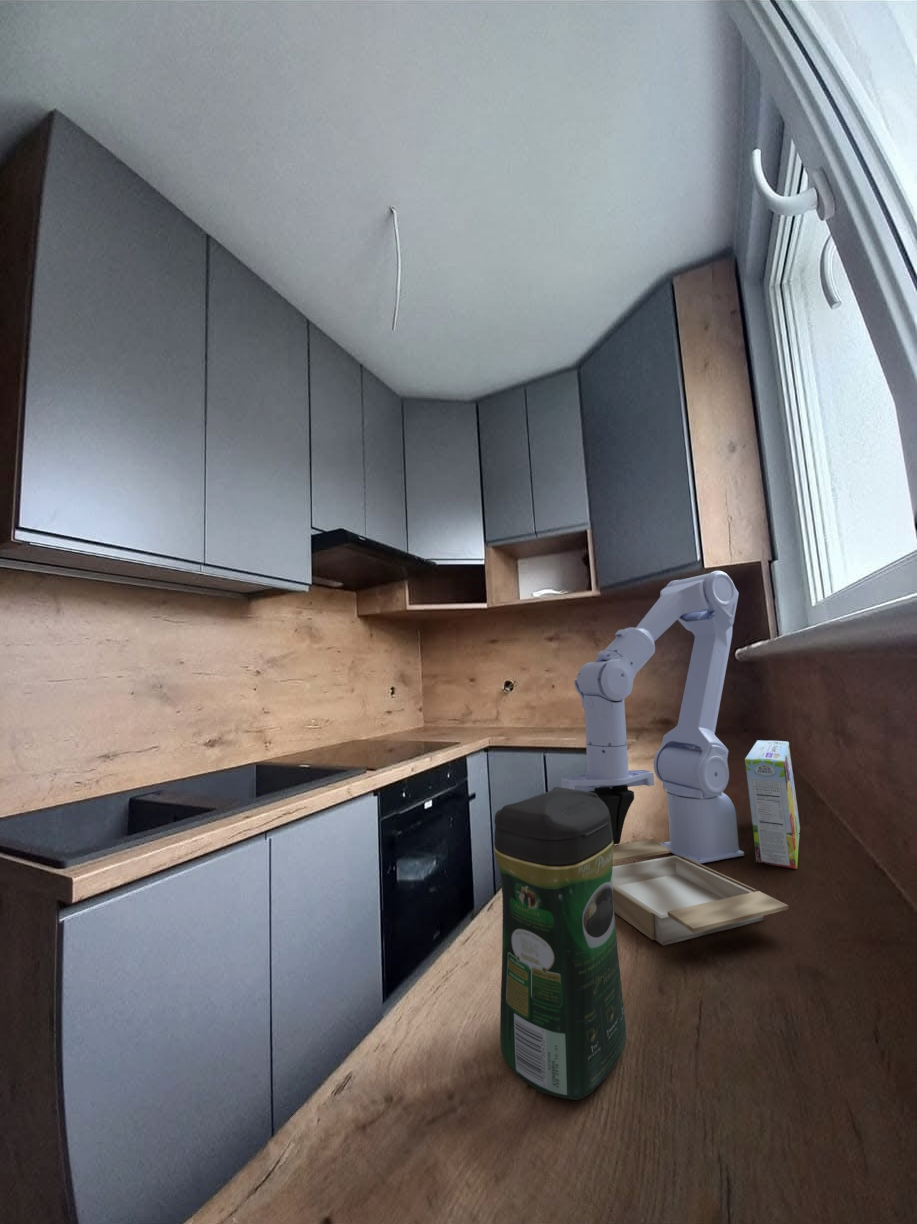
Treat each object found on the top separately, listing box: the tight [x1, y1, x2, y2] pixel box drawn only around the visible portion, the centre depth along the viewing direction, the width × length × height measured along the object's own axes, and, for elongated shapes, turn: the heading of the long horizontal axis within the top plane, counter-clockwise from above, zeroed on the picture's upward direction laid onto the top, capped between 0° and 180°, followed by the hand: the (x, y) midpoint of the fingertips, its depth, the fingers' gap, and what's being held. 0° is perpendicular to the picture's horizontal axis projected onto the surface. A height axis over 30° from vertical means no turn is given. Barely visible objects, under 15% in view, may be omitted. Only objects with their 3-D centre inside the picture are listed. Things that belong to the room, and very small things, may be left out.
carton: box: [612, 855, 764, 946], centre depth 58 cm, size 15×13×3 cm
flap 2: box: [667, 890, 789, 933], centre depth 51 cm, size 13×1×3 cm
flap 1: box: [613, 838, 671, 863], centre depth 66 cm, size 13×1×3 cm
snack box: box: [744, 739, 801, 870], centre depth 78 cm, size 21×6×15 cm, turn 144°
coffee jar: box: [493, 786, 627, 1101], centre depth 37 cm, size 10×8×19 cm
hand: (611, 841), depth 69 cm, fingers closed
